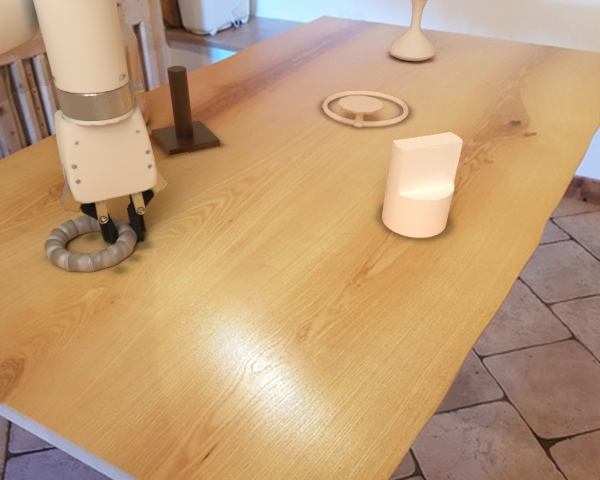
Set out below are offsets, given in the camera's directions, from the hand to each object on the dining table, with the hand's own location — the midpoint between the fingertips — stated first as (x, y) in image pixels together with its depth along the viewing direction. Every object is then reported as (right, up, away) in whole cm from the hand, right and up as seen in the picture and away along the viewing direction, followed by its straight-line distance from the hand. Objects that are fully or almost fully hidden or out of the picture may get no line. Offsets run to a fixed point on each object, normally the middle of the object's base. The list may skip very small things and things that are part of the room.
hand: (125, 239), depth 71 cm
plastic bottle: (-8, +24, +29) cm, 39 cm away
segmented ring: (-4, -1, -2) cm, 4 cm away
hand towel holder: (+35, +28, +36) cm, 57 cm away
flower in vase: (+50, +51, +63) cm, 95 cm away
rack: (+3, +20, +24) cm, 31 cm away
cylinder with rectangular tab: (+39, +3, +7) cm, 39 cm away
